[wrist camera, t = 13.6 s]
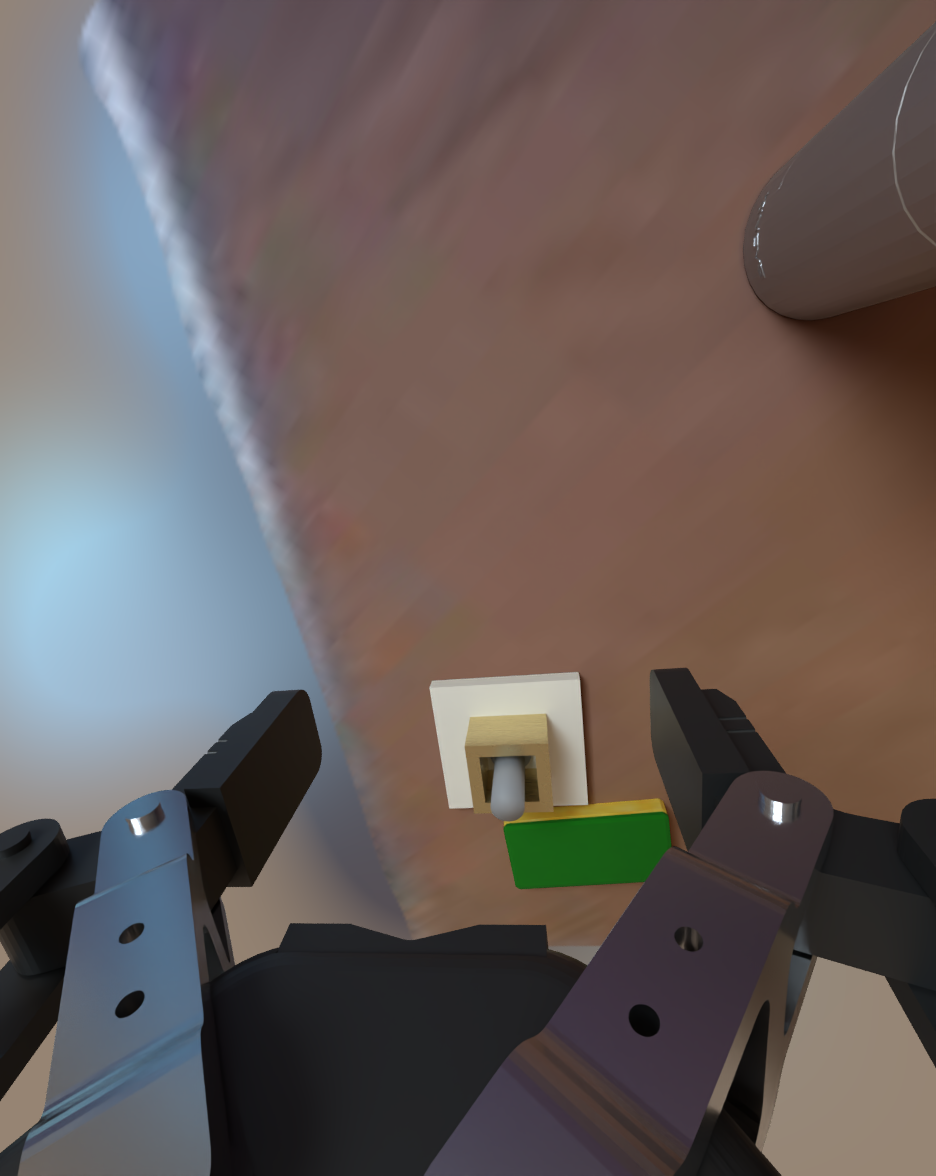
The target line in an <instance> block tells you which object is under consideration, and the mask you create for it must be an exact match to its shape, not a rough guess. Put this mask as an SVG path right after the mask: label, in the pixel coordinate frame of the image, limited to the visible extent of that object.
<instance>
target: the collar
mask: <svg viewBox="0 0 936 1176" xmlns="http://www.w3.org/2000/svg"><path fill="white" fill-rule="evenodd" d="M465 753H466V760H467V767H468V774H469V781H470V788H471V795H472V802H473V809H474V814H476V813H492V811H491V796H492V786H493V775H494V770H489V766H488V758H487V757H501V756H529V755H535V758H536V768H527V769H525V810H524V813H527V812H554V808H553V792H552V776H551V764H550V752H549V741H548V729H547V717H546V714H525V715H503V716H481V717H470V720H469V725H468V731H467V736H466V741H465Z"/></svg>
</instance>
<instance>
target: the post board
mask: <svg viewBox="0 0 936 1176" xmlns="http://www.w3.org/2000/svg"><path fill="white" fill-rule="evenodd" d="M430 693H431V700H432V706H433V712H434V718H435V724H436V730H437V736H438V742H439V748H440V754H441V760H442V766H443V772H444V778H445V784H446V790H447V796H448V802H449V808H473V802H472V795H471V788H470V781H469V774H468V767H467V760H466V753H465V741H466V736H467V731H468V725H469V720H470V717H481V716H503V715H525V714H546V717H547V729H548V741H549V752H550V764H551V776H552V792H553V806H566V805H588V796H587V780H586V765H585V750H584V735H583V720H582V704H581V689H580V677H579V672H571V673H554V674H537V675H521V676H504V677H487V678H470V679H454V680H437V681H432V683H431V685H430ZM487 758H488V766H489V770H494V775H493V786H492V796H491V811H492V813H493V815H494V816H495V817H496V818H498V819H500V820H502V821H508V822H510V821H515V820H517V819H519V818H520V817H521V816H522V815H523V813H524V810H525V769H527V768H536V758H535V755H529V756H501V757H487Z"/></svg>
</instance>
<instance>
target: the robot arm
mask: <svg viewBox="0 0 936 1176" xmlns="http://www.w3.org/2000/svg"><path fill="white" fill-rule="evenodd" d="M743 253H744V266H745V269H746V273H747V276H748V280H749V282H750V284H751V286H752V288H753V290H754V291H755V293H756V295H757V296H758V297H759V298H760V299H761V300H762V301H763V302H764V303H765V305H766V306H767V307H769V308H771V309H772V310H774V311H775V312H777V313H779V314H780V315H783V316H787V317H790V318H793V319H799V320H817V319H823V318H829V317H833V316H836V315H839V314H843V313H846V312H850V311H853V310H856V309H860V308H864V307H868V306H871V305H874V304H878V303H881V302H885V301H888V300H891V299H895V298H898V297H902V296H905V295H908V294H912V293H915V292H919V291H922V290H925V289H929V288H932V287H936V22H935V23H934V24H933V25H932V26H931V27H930V28H929V29H928V30H926V31H925V32H924V33H923V34H922V35H921V36H920V37H919V38H918V39H917V40H916V41H915V42H914V43H913V44H912V45H911V46H910V47H908V48H907V49H906V50H905V51H904V52H903V53H902V54H901V55H900V56H899V57H898V58H897V59H896V60H895V61H894V62H893V63H892V64H890V65H889V66H888V67H887V68H886V69H885V70H884V71H883V72H882V73H881V74H880V75H879V76H878V77H877V78H876V79H875V80H874V81H872V82H871V83H870V84H869V85H868V86H867V87H866V88H865V89H864V90H863V91H862V92H861V93H860V94H859V95H858V96H857V97H856V98H854V99H853V100H852V101H851V102H850V103H849V104H848V105H847V106H846V107H845V108H844V109H843V110H842V111H841V112H840V113H839V114H837V115H836V116H835V117H834V118H833V119H832V120H831V121H830V122H829V123H828V124H827V125H826V126H825V127H824V128H823V129H822V130H821V131H819V132H818V133H817V134H816V135H815V136H814V137H813V138H812V139H811V140H810V141H809V142H808V143H807V144H806V145H805V146H804V147H803V148H802V149H801V150H799V151H798V152H797V153H796V154H795V155H794V156H793V157H792V158H791V159H790V160H789V161H788V162H787V163H786V164H785V165H784V166H783V167H782V168H781V169H780V170H779V171H777V172H776V173H775V174H774V175H773V177H772V178H771V179H770V181H769V182H768V183H767V185H766V186H765V187H764V189H763V190H762V191H761V193H760V195H759V197H758V199H757V200H756V202H755V204H754V206H753V208H752V210H751V213H750V216H749V220H748V223H747V226H746V229H745V237H744V245H743ZM650 716H651V740H652V747H653V753H654V757H655V760H656V763H657V766H658V769H659V772H660V775H661V777H662V780H663V783H664V786H665V789H666V791H667V794H668V797H669V800H670V803H671V805H672V808H673V811H674V814H675V817H676V820H677V822H678V825H679V828H680V831H681V834H682V836H683V839H684V842H685V845H686V848H687V850H688V852H687V851H684V850H682V849H680V848H678V847H675V846H673V847H671V848H669V849H668V850H667V851H666V852H665V853H664V855H663V856H662V858H661V859H660V860H659V862H658V863H657V865H656V866H655V868H654V869H653V871H652V872H651V874H650V875H649V877H648V878H647V879H646V881H645V882H644V884H643V885H642V887H641V888H640V890H639V891H638V893H637V894H636V896H635V897H634V898H633V900H632V901H631V903H630V904H629V906H628V907H627V909H626V910H625V912H624V913H623V914H622V916H621V917H620V919H619V920H618V922H617V923H616V925H615V926H614V928H613V929H612V931H611V932H610V933H609V935H608V936H607V938H606V939H605V941H604V942H603V944H602V945H601V947H600V948H599V950H598V951H597V952H596V954H595V956H594V957H593V958H592V960H591V961H590V963H589V964H588V965H586V964H584V963H582V962H580V961H579V960H577V959H574V958H572V957H570V956H567V955H565V954H563V953H560V952H556V951H553V950H549V949H548V941H547V931H546V925H476V926H472V927H468V928H464V929H459V930H455V931H451V932H447V933H443V934H438V935H434V936H430V937H426V938H421V939H417V940H403V939H400V938H397V937H393V936H390V935H387V934H383V933H380V932H376V931H372V930H369V929H366V928H362V927H359V926H355V925H352V924H304V923H303V924H301V923H299V924H298V923H297V924H296V923H293V924H292V923H291V924H290V925H289V927H288V929H287V932H286V934H285V936H284V938H283V940H282V942H281V945H280V947H279V948H275V949H272V950H269V951H266V952H263V953H260V954H257V955H255V956H253V957H251V958H249V959H247V960H244V961H242V962H241V963H239V964H237V965H235V962H234V957H233V951H232V945H231V940H230V935H229V929H228V923H227V918H226V913H225V908H224V905H223V902H222V900H221V895H222V893H223V892H224V890H225V889H226V887H252V886H253V884H254V882H255V880H256V879H257V877H258V875H259V874H260V872H261V870H262V868H263V867H264V865H265V863H266V861H267V860H268V858H269V856H270V854H271V853H272V851H273V849H274V847H275V846H276V844H277V842H278V841H279V839H280V837H281V835H282V834H283V832H284V830H285V828H286V827H287V825H288V823H289V822H290V820H291V818H292V816H293V815H294V813H295V811H296V809H297V807H298V806H299V804H300V802H301V801H302V799H303V797H304V796H305V794H306V792H307V790H308V789H309V787H310V785H311V783H312V782H313V780H314V778H315V776H316V775H317V773H318V771H319V768H320V764H321V757H322V749H321V743H320V739H319V735H318V731H317V727H316V723H315V719H314V714H313V710H312V706H311V703H310V699H309V696H308V694H307V692H305V691H304V690H288V691H274V692H271V693H270V694H269V695H268V696H267V697H266V698H265V699H264V700H263V701H262V702H261V704H260V705H259V706H258V707H257V708H256V709H255V710H254V711H253V713H250V714H249V715H247V716H245V717H244V718H242V719H241V720H239V721H238V722H236V723H235V724H233V725H232V726H231V727H230V728H229V729H228V730H227V731H226V732H225V733H224V734H223V735H222V736H221V737H220V739H219V741H218V742H217V743H215V744H214V745H213V746H212V747H211V748H210V749H209V750H208V754H205V755H204V756H203V757H202V758H201V759H200V760H199V761H198V762H197V763H196V764H195V765H194V766H193V768H192V769H191V770H190V771H189V772H188V773H187V774H186V775H185V776H184V777H183V778H182V779H181V780H180V781H179V783H178V784H177V785H176V786H175V787H174V788H173V789H172V790H163V791H158V792H154V793H151V794H147V795H145V796H142V797H140V798H138V799H136V800H134V801H132V802H130V803H128V804H127V805H125V806H124V807H122V808H121V809H119V810H118V811H117V812H116V813H115V814H113V815H112V816H111V817H110V818H109V819H108V821H107V822H106V823H105V825H104V827H103V829H102V831H99V832H95V833H91V834H88V835H84V836H79V837H75V838H71V839H67V840H66V838H65V836H64V834H63V831H62V829H61V827H60V825H59V823H58V822H57V821H56V820H53V819H38V820H34V821H30V822H26V823H23V824H21V825H18V826H15V827H13V828H11V829H9V830H6V831H5V832H3V833H1V834H0V942H1V944H2V946H3V947H4V949H5V951H6V953H7V955H8V957H9V959H10V960H9V961H8V962H7V964H6V965H5V966H4V967H3V968H2V969H1V970H0V1101H1V1099H2V1098H3V1097H4V1095H5V1093H6V1092H7V1091H8V1090H9V1088H10V1087H11V1085H12V1084H13V1082H14V1081H15V1080H16V1078H17V1077H18V1076H19V1074H20V1073H21V1071H22V1070H23V1069H24V1067H25V1066H26V1064H27V1063H28V1061H29V1060H30V1059H31V1057H32V1056H33V1055H34V1053H35V1052H36V1050H37V1049H38V1048H39V1046H40V1045H41V1043H42V1042H43V1041H44V1039H45V1038H46V1036H47V1035H48V1034H49V1032H50V1031H51V1029H52V1028H53V1026H54V1025H55V1024H56V1022H57V1021H58V1022H57V1029H56V1036H55V1042H54V1049H53V1055H52V1062H51V1069H50V1075H49V1082H48V1088H47V1095H46V1102H45V1107H44V1111H43V1114H42V1117H41V1119H40V1120H39V1122H38V1123H37V1124H35V1125H34V1126H33V1127H32V1128H30V1129H29V1130H28V1131H27V1132H25V1133H24V1134H23V1135H22V1136H21V1137H20V1138H18V1139H17V1140H16V1141H15V1142H13V1143H12V1144H11V1145H10V1146H8V1147H7V1148H6V1149H5V1150H3V1151H2V1152H1V1153H0V1176H781V1174H780V1173H779V1172H778V1171H777V1170H776V1169H775V1167H774V1166H773V1165H772V1164H771V1163H770V1162H769V1161H768V1159H767V1158H766V1157H765V1156H764V1155H763V1154H762V1149H763V1146H764V1143H765V1139H766V1136H767V1133H768V1129H769V1126H770V1122H771V1118H772V1115H773V1111H774V1107H775V1102H776V1098H777V1093H778V1088H779V1083H780V1077H781V1073H782V1068H783V1064H784V1060H785V1057H786V1053H787V1050H788V1047H789V1044H790V1041H791V1038H792V1035H793V1031H794V1028H795V1025H796V1022H797V1019H798V1016H799V1013H800V1010H801V1006H802V1003H803V1000H804V997H805V994H806V991H807V988H808V985H809V981H810V978H811V975H812V972H813V969H814V966H815V963H816V960H817V956H818V957H821V958H824V959H828V960H831V961H835V962H838V963H842V964H845V965H848V966H852V967H855V968H859V969H862V970H865V971H869V972H873V973H876V974H879V975H882V976H885V977H886V980H887V981H888V983H889V985H890V987H891V988H892V990H893V992H894V994H895V996H896V997H897V999H898V1001H899V1003H900V1005H901V1006H902V1008H903V1010H904V1012H905V1014H906V1015H907V1017H908V1019H909V1021H910V1023H911V1024H912V1026H913V1028H914V1030H915V1032H916V1033H917V1035H918V1037H919V1039H920V1040H921V1042H922V1044H923V1046H924V1048H925V1049H926V1051H927V1053H928V1055H929V1056H930V1058H931V1060H932V1062H933V1064H934V1065H935V1067H936V799H923V800H917V801H914V802H911V803H909V804H908V805H906V806H905V808H904V809H903V810H902V814H901V819H900V823H894V822H889V821H883V820H878V819H873V818H867V817H862V816H857V815H852V814H848V813H844V812H841V811H838V810H835V809H833V807H832V805H831V802H830V801H829V800H828V798H827V797H826V796H825V795H824V794H823V793H822V792H821V791H820V790H819V789H817V788H816V787H815V786H813V785H811V784H810V783H808V782H806V781H804V780H802V779H800V778H797V777H795V776H792V775H788V774H786V773H785V771H784V770H783V768H782V767H781V766H780V764H779V763H778V761H777V760H776V758H775V757H774V756H773V754H772V753H771V751H770V750H769V748H768V747H767V746H766V744H765V743H764V741H763V740H762V738H761V737H760V736H759V734H758V733H757V732H755V728H754V727H753V726H752V724H751V723H750V721H749V720H748V719H746V716H745V714H744V713H743V711H742V710H741V708H740V707H739V706H738V704H737V703H736V701H734V700H733V699H731V698H730V697H728V696H726V695H725V694H723V693H722V692H720V691H719V690H717V689H705V690H701V689H700V688H699V686H698V684H697V683H696V681H695V679H694V678H693V676H692V674H691V673H690V671H689V670H688V669H687V668H673V669H656V670H651V673H650Z"/></svg>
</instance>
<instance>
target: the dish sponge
mask: <svg viewBox="0 0 936 1176" xmlns="http://www.w3.org/2000/svg"><path fill="white" fill-rule="evenodd" d="M553 808H554V812H527V813H523V815H522V816H521V817H520V818H519V819H517V820H515V821H510V822H508V821H504V834H505V839H506V844H507V848H508V853H509V857H510V862H511V867H512V871H513V876H514V881H515V885H516V887H517V888H519V889H531V888H549V887H566V886H583V885H601V884H618V883H635V882H645V881H646V879H647V878H648V877H649V875H650V874H651V872H652V871H653V869H654V868H655V866H656V865H657V863H658V862H659V860H660V859H661V858H662V856H663V855H664V853H665V852H666V851H667V850H668V849H669V848H671V837H670V827H669V817H668V814H667V811H666V808H665V805H664V802H663V801H662V800H660V799H647V800H635V801H623V802H610V803H598V804H588V805H573V806H561V807H553Z"/></svg>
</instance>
